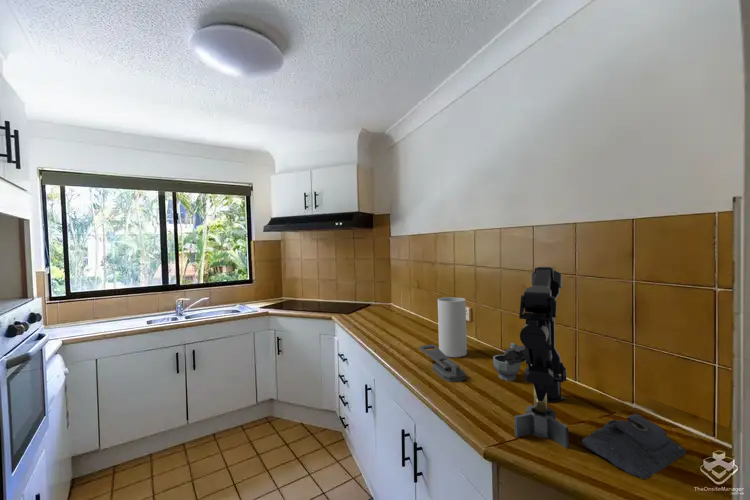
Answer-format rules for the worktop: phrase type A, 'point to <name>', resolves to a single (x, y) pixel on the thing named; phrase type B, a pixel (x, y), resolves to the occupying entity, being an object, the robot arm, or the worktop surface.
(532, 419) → the grey hollow finned part
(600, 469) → the worktop surface
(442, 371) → the zipper pull
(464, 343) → the cylinder vase
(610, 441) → the dark slate chunk
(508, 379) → the mortar and pestle
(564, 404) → the worktop surface
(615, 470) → the worktop surface
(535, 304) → the robot arm
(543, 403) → the brass pin
